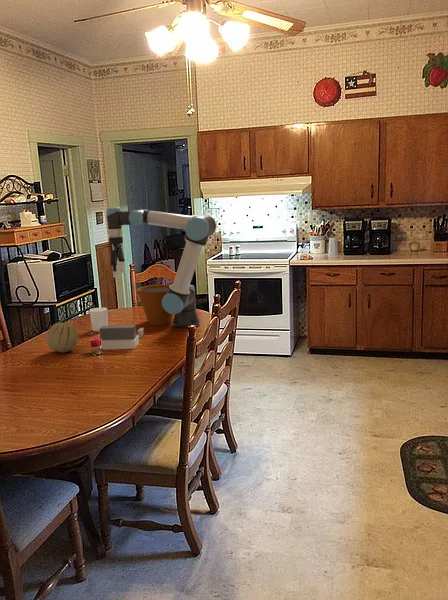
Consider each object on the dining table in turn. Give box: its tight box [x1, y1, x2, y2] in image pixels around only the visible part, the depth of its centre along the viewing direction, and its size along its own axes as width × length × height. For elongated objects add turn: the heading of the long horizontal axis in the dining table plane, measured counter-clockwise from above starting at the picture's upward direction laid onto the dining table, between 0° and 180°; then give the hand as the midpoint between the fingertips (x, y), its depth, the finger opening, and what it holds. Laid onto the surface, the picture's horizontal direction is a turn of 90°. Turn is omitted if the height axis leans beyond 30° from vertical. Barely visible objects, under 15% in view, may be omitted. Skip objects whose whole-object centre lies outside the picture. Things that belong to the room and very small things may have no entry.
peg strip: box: [99, 324, 138, 340], centre depth 265 cm, size 17×5×10 cm, turn 87°
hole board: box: [102, 334, 140, 350], centre depth 266 cm, size 18×10×4 cm, turn 87°
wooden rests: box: [137, 327, 145, 339], centre depth 281 cm, size 17×6×4 cm, turn 87°
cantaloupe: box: [46, 320, 79, 353], centre depth 259 cm, size 15×15×15 cm
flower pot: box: [136, 283, 174, 326], centre depth 310 cm, size 24×24×20 cm
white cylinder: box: [89, 307, 109, 332], centre depth 297 cm, size 10×10×12 cm
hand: (118, 275), depth 292 cm, fingers open, 13 cm apart
